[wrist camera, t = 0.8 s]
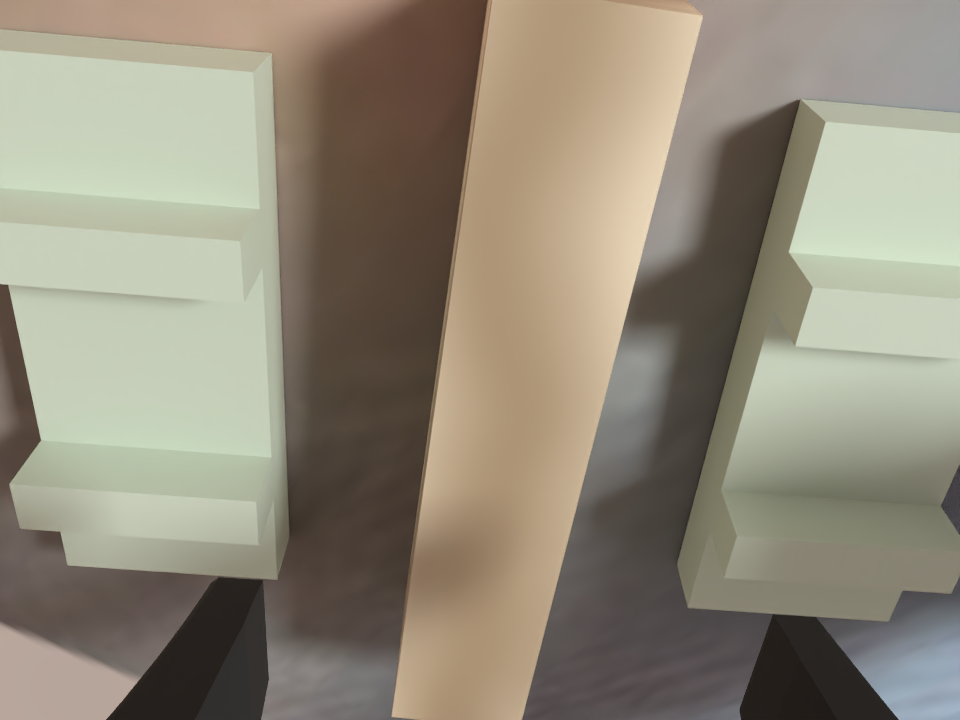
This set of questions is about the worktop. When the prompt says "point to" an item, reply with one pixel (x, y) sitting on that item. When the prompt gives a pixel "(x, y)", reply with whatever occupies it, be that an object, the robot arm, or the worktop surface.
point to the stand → (259, 352)
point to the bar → (532, 330)
